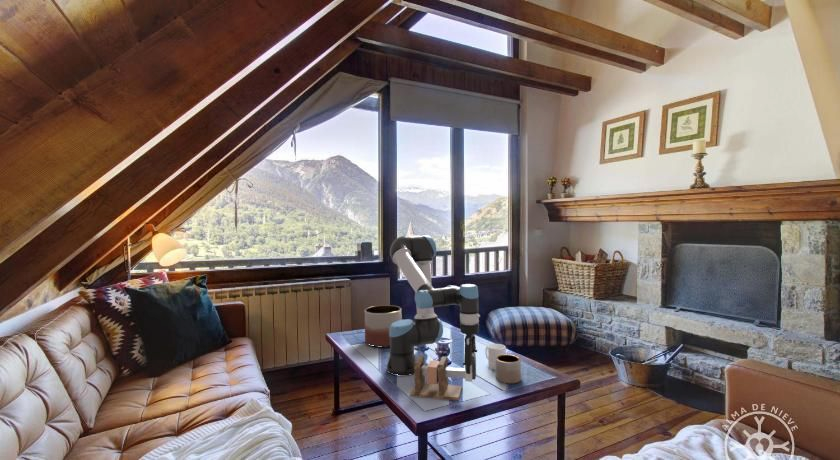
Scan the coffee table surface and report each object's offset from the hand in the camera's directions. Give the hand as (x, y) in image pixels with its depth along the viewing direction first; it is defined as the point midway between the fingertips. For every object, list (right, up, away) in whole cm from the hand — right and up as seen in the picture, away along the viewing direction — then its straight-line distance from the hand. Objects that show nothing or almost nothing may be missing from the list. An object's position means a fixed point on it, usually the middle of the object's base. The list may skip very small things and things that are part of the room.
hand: (470, 374), depth 161 cm
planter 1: (-42, -8, +73) cm, 84 cm away
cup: (+16, -8, +31) cm, 36 cm away
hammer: (-10, -1, +2) cm, 10 cm away
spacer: (-15, -4, +4) cm, 16 cm away
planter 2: (+19, -8, +15) cm, 26 cm away
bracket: (-14, -9, +4) cm, 17 cm away
